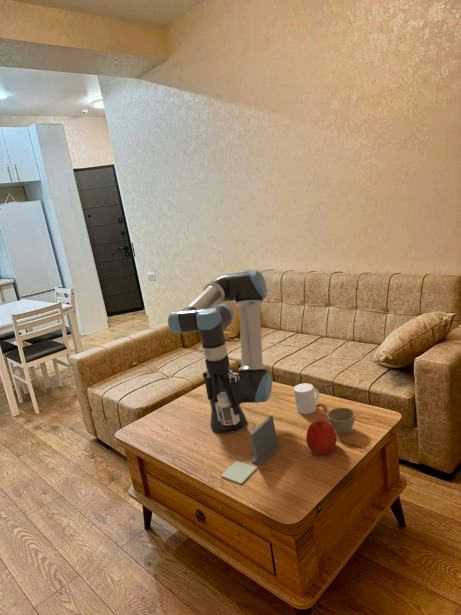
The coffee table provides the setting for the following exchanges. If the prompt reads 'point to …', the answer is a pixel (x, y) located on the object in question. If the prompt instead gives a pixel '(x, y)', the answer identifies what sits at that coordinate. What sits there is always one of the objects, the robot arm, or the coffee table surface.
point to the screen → (264, 441)
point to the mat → (238, 472)
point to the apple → (321, 437)
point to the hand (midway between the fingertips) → (229, 420)
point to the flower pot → (341, 420)
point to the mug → (305, 398)
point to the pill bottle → (224, 409)
